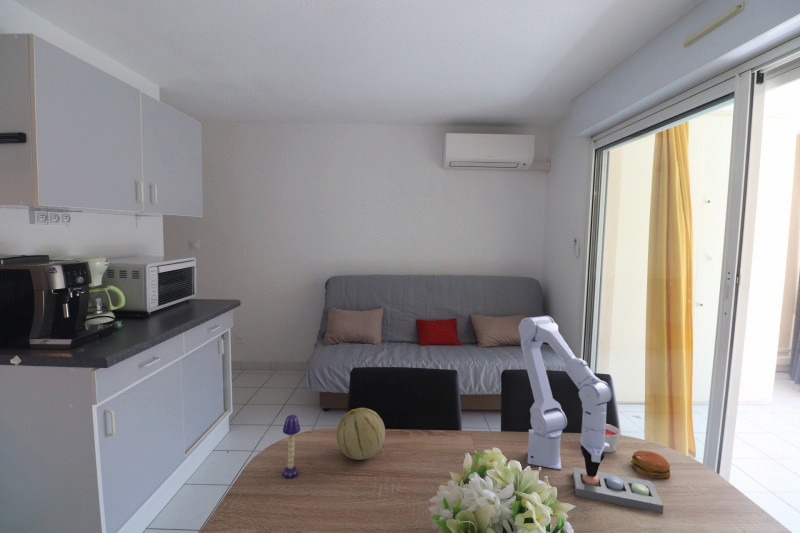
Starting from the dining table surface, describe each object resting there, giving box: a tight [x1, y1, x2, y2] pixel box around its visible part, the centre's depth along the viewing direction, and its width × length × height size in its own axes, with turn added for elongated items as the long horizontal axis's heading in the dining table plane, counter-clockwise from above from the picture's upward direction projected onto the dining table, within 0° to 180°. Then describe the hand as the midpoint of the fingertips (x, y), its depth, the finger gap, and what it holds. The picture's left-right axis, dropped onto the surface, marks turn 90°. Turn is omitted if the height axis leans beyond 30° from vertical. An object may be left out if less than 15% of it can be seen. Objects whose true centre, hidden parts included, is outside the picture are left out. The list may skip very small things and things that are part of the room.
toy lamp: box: [282, 414, 301, 479], centre depth 114 cm, size 5×5×17 cm
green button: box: [631, 483, 649, 496], centre depth 108 cm, size 4×4×2 cm
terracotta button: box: [581, 472, 599, 486], centre depth 112 cm, size 4×4×2 cm
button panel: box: [572, 466, 664, 514], centre depth 110 cm, size 20×11×2 cm, turn 72°
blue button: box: [606, 476, 624, 491], centre depth 110 cm, size 4×4×2 cm
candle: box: [604, 423, 621, 453], centre depth 135 cm, size 9×9×6 cm
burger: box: [630, 450, 671, 479], centre depth 122 cm, size 10×9×5 cm
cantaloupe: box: [335, 407, 386, 461], centre depth 125 cm, size 15×15×15 cm
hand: (591, 474), depth 112 cm, fingers closed
